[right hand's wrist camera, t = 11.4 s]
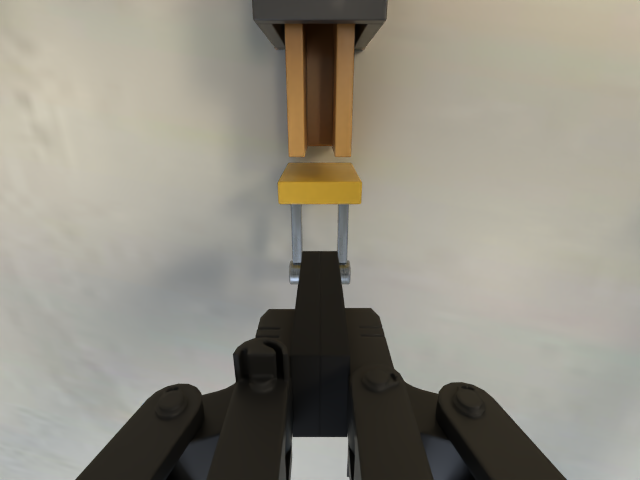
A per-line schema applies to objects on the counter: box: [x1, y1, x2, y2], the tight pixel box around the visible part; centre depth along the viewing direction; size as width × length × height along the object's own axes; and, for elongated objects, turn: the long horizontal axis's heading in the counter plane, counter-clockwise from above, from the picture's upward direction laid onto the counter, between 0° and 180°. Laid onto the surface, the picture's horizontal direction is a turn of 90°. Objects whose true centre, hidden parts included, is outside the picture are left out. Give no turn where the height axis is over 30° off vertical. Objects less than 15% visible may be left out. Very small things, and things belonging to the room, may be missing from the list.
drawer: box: [278, 24, 362, 284], centre depth 19 cm, size 20×4×6 cm, turn 0°
